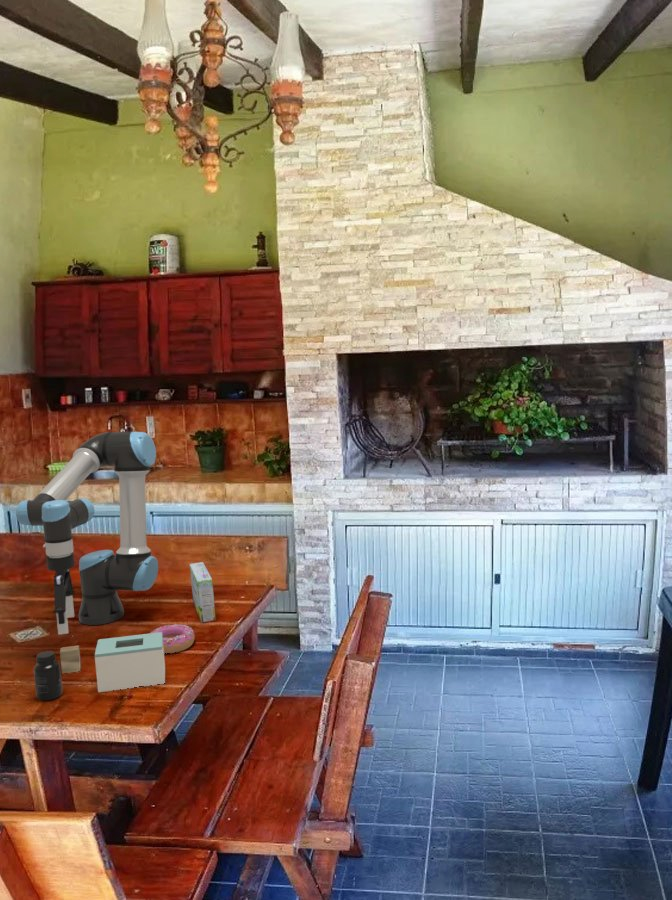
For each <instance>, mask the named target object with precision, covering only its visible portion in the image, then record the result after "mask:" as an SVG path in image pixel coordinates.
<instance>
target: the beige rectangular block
mask: <svg viewBox="0 0 672 900" xmlns="http://www.w3.org/2000/svg"><path fill="white" fill-rule="evenodd" d="M59 655H60V656H59V657H60V669H61V675H65V674H64V673H68V674H72V673H71V672H76V673H79V672H78V671H80V672H81V670H82V663H81V653H80V645H73V646H72V645H71V646H65V647H63V646H62V647H61V648H60V650H59ZM80 669H81V670H80Z"/></svg>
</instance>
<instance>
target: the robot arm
mask: <svg viewBox="0 0 672 900" xmlns="http://www.w3.org/2000/svg"><path fill="white" fill-rule="evenodd" d="M156 458H157V450H156V446H155V442H154V439H152V436H151V435H150V434H148V433H146V432H144V431H113V432H112V431H111V432H110V431H105V432H102V433H99V434H97V435H95V436H92V437H91V438H89V439H87V440H86V441H84V442H83V443H82V444H81V445H80V446H79V447H78V448H76V449H75V451H74V452H73V454H72V458H71V459H70V460H69V461H68V462H67V463H66V465H64V466H63V467H62V468H61V469H60V471H59V472H58V473H56V475H55V476H54V477H53V478H52V479H51V480H50V481H49V483H47V484H46V485H45V486H44V487H43V489H42V490H41V491H40V492H39V493H38V494H36V496H35V497H34V498H33V499H32V500H30V499H27V500H22V501H20V502H19V503H18V504H17V507H16V510H15V517H16V519H17V521H18V523H19V524H20V525H23V526H32V527H40V526H42V527H43V528H42V529H43V536H44V544H43V545H42V548H43V549H45V555H46V559H45V560H46V568H47V570H48V571H51V572H55V574H54V576H53V585H54V586H53V587H54V588H53V589H54V593H53V594H54V610H52V613H53V614H55V616H56V624H57V635H66V634H69V623H68V621H69V620H68V618H74V617H75V609H74V607H75V606H74V598H73V595H75V594H76V591H75V590H74V587H73V582H72V577H71V572H70V569H72V568H74V566H75V564H76V563H75V555H74V553H73V552H74V541H73V535H72V534H73V533H72V531H73V529H75V528H77V527H79V526H82V525H85V524H87V523H88V522H90V521H92V519H93V518H94V515H95V507H94V504H93V502H91V501H90V500H89V499H87V498H83V497H81V498H76V499H74V500H68V499H69V498H70V496H72V495H73V493H74V492H75V491H76V490H77V489H78V488H79V486H80V485H81V484H83V482H84V481H85V480H86V479H87V477H89V476H90V474H92V473H95V472H97V471H98V470H99V469H100V468H103V467H114V470H113V471H114V473H115V474H116V475H117V476H118V481H119V482H118V483H119V485H118V487H119V488H118V490H119V492H118V494H119V495H118V496H119V530H120V532H119V536H120V538H119V539H120V542H119V543H120V547H119V548H118V549H117V550H116V551H115V552H114V550H111V549H101V550H96V551H93V552H89V553H86V554H85V555H83V556H82V557H80V559H79V562H78V571H79V578H80V588H81V597H82V599H81V603H80V606H79V611H78V621H79V622H80V623H81V624H82V625H83V624H84V625H88V626H97V625H107V624H110V623H114V622H115V621H119V620H120V619H122V618H123V617H124V616H125V608H124V606H123V604H122V601H121V599H120V597H119V595H118V591H134V592H139V591H141V592H142V591H148V590H150V589H151V588H152V587H153V585H154V584H155V582H156V580H157V577H158V571H159V562H158V559H157V558H156V557H155V556H153V555H152V550H151V549H150V548H149V547H148V545H147V516H146V514H147V513H146V512H147V509H146V507H147V506H146V505H147V504H146V475H148V473H149V472H150V467H151V466H153V465H155V463H156Z"/></svg>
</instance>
